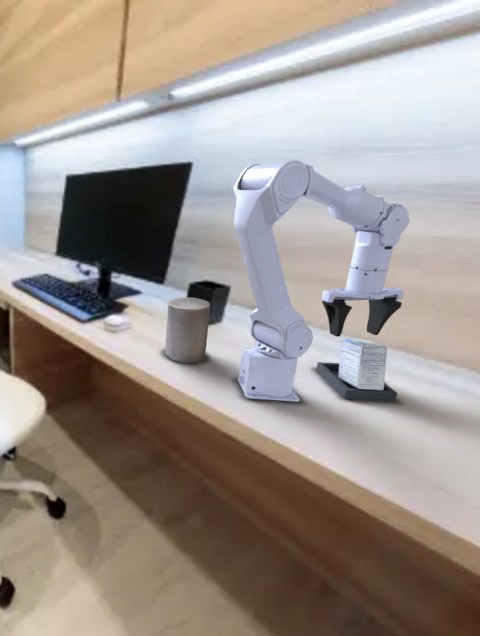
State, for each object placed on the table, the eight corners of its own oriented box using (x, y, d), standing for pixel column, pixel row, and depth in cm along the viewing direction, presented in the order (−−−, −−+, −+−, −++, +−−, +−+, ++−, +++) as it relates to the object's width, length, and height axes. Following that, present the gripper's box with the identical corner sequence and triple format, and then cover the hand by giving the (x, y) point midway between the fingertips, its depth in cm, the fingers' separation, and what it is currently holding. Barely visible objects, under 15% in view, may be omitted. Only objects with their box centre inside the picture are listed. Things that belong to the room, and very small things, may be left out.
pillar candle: (208, 351, 97) (214, 294, 92) (201, 366, 89) (206, 305, 84) (170, 345, 102) (173, 290, 97) (159, 359, 94) (162, 300, 89)
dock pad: (344, 398, 74) (346, 390, 73) (315, 369, 85) (317, 362, 85) (395, 401, 72) (397, 393, 71) (359, 371, 84) (361, 364, 83)
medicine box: (384, 391, 72) (389, 346, 71) (356, 389, 73) (361, 344, 72) (361, 380, 80) (365, 339, 79) (337, 378, 81) (341, 338, 80)
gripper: (346, 273, 69) (331, 342, 74) (425, 270, 69) (406, 340, 74) (320, 266, 76) (308, 330, 80) (392, 263, 76) (376, 327, 80)
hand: (353, 334), depth 77 cm, fingers open, 7 cm apart
